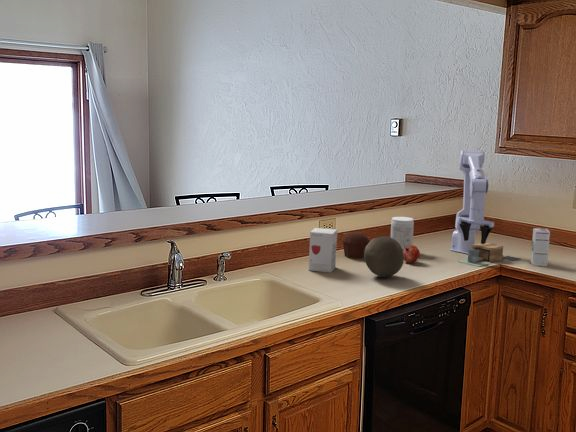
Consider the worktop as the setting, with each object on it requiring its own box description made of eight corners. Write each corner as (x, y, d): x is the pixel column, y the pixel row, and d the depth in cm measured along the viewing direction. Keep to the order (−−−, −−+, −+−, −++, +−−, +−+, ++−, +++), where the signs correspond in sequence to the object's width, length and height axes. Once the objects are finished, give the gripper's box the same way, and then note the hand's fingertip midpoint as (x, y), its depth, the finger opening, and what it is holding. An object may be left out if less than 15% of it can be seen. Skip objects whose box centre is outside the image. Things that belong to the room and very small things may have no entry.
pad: (457, 261, 253) (457, 261, 253) (469, 258, 259) (469, 258, 259) (479, 266, 246) (479, 266, 246) (491, 263, 252) (491, 262, 252)
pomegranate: (408, 265, 254) (393, 252, 250) (419, 250, 255) (404, 237, 250) (418, 271, 248) (403, 258, 243) (429, 257, 248) (414, 243, 243)
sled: (465, 261, 252) (465, 249, 251) (485, 255, 264) (486, 243, 263) (477, 263, 248) (478, 251, 248) (497, 257, 260) (498, 246, 259)
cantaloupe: (369, 270, 235) (371, 231, 233) (406, 275, 230) (408, 235, 227) (358, 279, 222) (360, 238, 220) (397, 284, 217) (400, 242, 214)
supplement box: (307, 270, 233) (309, 231, 230) (313, 265, 241) (314, 227, 239) (331, 272, 230) (333, 233, 228) (336, 267, 239) (337, 229, 236)
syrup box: (547, 266, 249) (551, 231, 246) (532, 265, 250) (535, 230, 247) (544, 263, 254) (548, 228, 252) (529, 262, 256) (532, 227, 253)
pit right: (500, 258, 261) (500, 257, 261) (507, 256, 265) (507, 255, 265) (513, 261, 257) (514, 260, 257) (520, 258, 261) (520, 258, 261)
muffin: (374, 256, 257) (375, 233, 256) (357, 260, 250) (358, 236, 248) (352, 251, 266) (353, 228, 264) (335, 255, 258) (336, 231, 256)
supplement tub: (393, 248, 274) (395, 215, 271) (414, 251, 270) (416, 217, 267) (386, 252, 265) (388, 218, 263) (408, 255, 261) (410, 221, 259)
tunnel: (471, 258, 259) (472, 244, 258) (482, 255, 265) (483, 241, 264) (491, 262, 253) (492, 248, 252) (502, 259, 259) (503, 245, 258)
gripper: (455, 207, 250) (453, 240, 252) (488, 212, 240) (485, 246, 242) (465, 205, 255) (462, 238, 257) (497, 210, 245) (494, 244, 247)
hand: (474, 242), depth 250 cm, fingers open, 7 cm apart
